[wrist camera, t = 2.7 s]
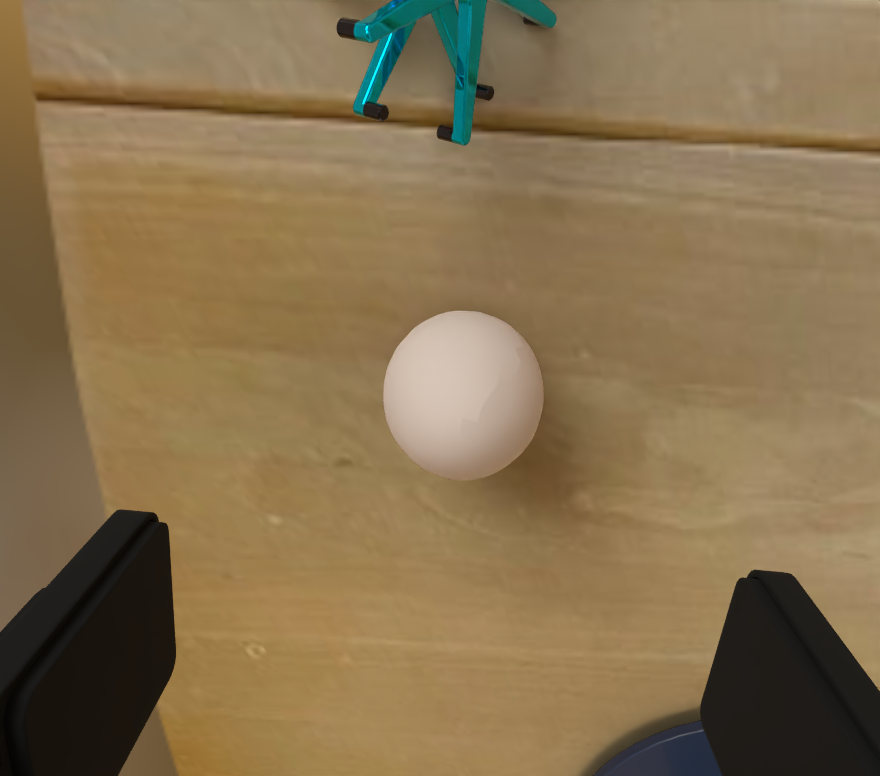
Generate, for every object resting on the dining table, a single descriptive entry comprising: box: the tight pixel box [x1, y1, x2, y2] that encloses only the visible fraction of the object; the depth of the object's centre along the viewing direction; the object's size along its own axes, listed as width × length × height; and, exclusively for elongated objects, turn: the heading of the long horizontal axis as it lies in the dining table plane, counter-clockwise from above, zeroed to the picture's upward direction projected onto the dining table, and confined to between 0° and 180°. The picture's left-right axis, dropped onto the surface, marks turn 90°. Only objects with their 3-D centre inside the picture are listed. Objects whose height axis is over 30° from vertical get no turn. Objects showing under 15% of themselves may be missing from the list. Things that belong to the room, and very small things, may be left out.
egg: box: [383, 311, 544, 480], centre depth 21 cm, size 5×5×7 cm
